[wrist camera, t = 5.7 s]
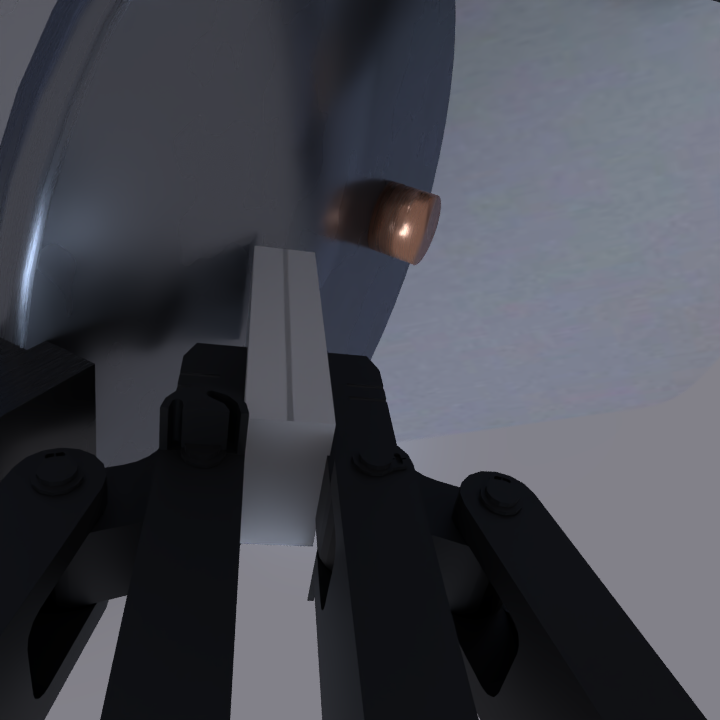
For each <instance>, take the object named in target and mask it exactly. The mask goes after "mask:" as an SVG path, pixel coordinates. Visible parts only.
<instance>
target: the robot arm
mask: <svg viewBox="0 0 720 720" xmlns="http://www.w3.org/2000/svg"><path fill="white" fill-rule="evenodd" d="M315 531H316V536H317V553H316V559H315V564H314V569H313V574H312V579H311V585H310V590H309V594H308V601H313V600H314V597H315V608H316V625H317V639H318V640H317V641H318V657H319V673H320V690H321V706H322V720H479V719H478V716H479V718H480V720H707V719H706V718H705V716H704V715H703V714H702V712H701V711H700V710H699V709H698V707H697V706H696V705H695V703H694V702H693V701H692V699H691V698H690V697H689V695H688V694H687V693H686V692H685V690H684V689H683V688H682V686H681V685H680V684H679V682H678V681H677V680H676V678H675V677H674V676H673V675H672V673H671V672H670V671H669V669H668V668H667V667H666V665H665V664H664V663H663V661H662V660H661V659H660V657H659V656H658V655H657V654H656V652H655V651H654V650H653V648H652V647H651V646H650V644H649V643H648V642H647V641H646V639H645V638H644V637H643V635H642V634H641V633H640V631H639V630H638V629H637V627H636V626H635V625H634V624H633V622H632V621H631V620H630V618H629V617H628V616H627V614H626V613H625V612H624V611H623V609H622V608H621V606H620V605H619V604H618V603H617V601H616V600H615V599H614V597H613V596H612V595H611V593H610V592H609V591H608V589H607V588H606V587H605V585H604V584H603V583H602V582H601V580H600V579H599V578H598V576H597V575H596V574H595V572H594V571H593V570H592V568H591V567H590V566H589V565H588V563H587V562H586V561H585V559H584V558H583V557H582V555H581V554H580V553H579V551H578V550H577V549H576V548H575V546H574V545H573V544H572V542H571V541H570V540H569V538H568V537H567V536H566V534H565V533H564V532H563V531H562V529H561V528H560V527H559V525H558V524H557V523H556V521H555V520H554V519H553V517H552V516H551V515H550V513H549V512H548V511H547V510H546V508H545V507H544V506H543V504H542V503H541V502H540V500H539V499H538V498H537V497H536V495H535V494H534V493H533V492H532V491H531V490H530V489H529V488H528V487H527V486H526V485H525V484H523V483H522V482H520V481H518V480H516V479H514V478H513V477H511V476H508V475H505V474H501V473H498V472H484V471H481V472H478V473H474V474H471V475H469V476H468V477H467V478H466V479H465V480H464V481H463V482H462V483H461V486H460V487H457V486H453V485H450V484H447V483H443V482H440V481H436V480H434V479H431V478H429V477H426V476H424V475H422V474H420V473H419V472H417V471H415V469H414V465H413V463H412V461H411V459H410V458H409V456H408V454H407V453H405V452H404V451H403V450H402V449H400V447H398V446H397V444H396V439H395V435H394V431H393V426H392V422H391V418H390V413H389V409H388V405H387V402H386V396H385V392H384V389H383V383H382V379H381V375H380V371H379V369H378V368H377V367H376V366H375V365H374V364H373V363H372V362H371V360H370V359H369V358H368V357H367V356H361V355H349V354H338V353H327V348H326V340H325V331H324V323H323V315H322V307H321V298H320V290H319V282H318V274H317V265H316V257H315V252H307V251H298V250H289V249H280V248H272V247H263V246H255V248H254V258H253V268H252V279H251V289H250V299H249V310H248V320H247V330H246V341H245V347H240V346H229V345H218V344H206V343H196V344H195V345H194V346H193V347H192V348H191V349H190V350H189V351H188V352H187V353H186V354H185V355H184V356H183V360H182V365H181V370H180V375H179V379H178V384H177V389H176V391H175V392H173V393H172V394H170V395H169V396H167V397H166V398H165V399H164V401H163V403H162V404H161V406H160V423H159V449H158V450H157V451H155V452H154V453H152V454H151V455H149V456H148V457H145V458H143V459H141V460H139V461H136V462H132V463H128V464H124V465H118V466H112V467H106V468H105V467H104V464H103V463H102V462H101V461H100V460H99V459H98V458H97V457H96V456H95V455H94V454H91V453H88V452H86V451H83V450H81V449H73V448H55V449H48V450H43V451H40V452H38V453H35V454H33V455H30V456H28V457H26V458H24V459H23V460H22V461H21V462H19V463H18V464H17V465H15V466H14V467H13V468H12V469H11V470H10V471H9V473H8V474H7V475H6V476H5V477H4V478H3V479H2V481H1V482H0V720H44V719H45V718H46V716H47V714H48V712H49V710H50V709H51V707H52V705H53V703H54V701H55V700H56V698H57V696H58V694H59V692H60V690H61V689H62V687H63V685H64V683H65V681H66V680H67V678H68V676H69V674H70V672H71V670H72V669H73V667H74V665H75V663H76V662H77V660H78V658H79V656H80V654H81V653H82V651H83V649H84V647H85V645H86V644H87V642H88V640H89V638H90V636H91V634H92V633H93V631H94V629H95V627H96V625H97V624H98V622H99V620H100V618H101V616H102V614H103V613H104V611H105V609H106V607H107V603H108V600H109V599H114V598H117V597H122V596H126V595H127V599H126V604H125V608H124V613H123V617H122V622H121V627H120V631H119V636H118V641H117V645H116V650H115V655H114V659H113V663H112V668H111V673H110V677H109V682H108V687H107V691H106V696H105V700H104V705H103V710H102V714H101V719H100V720H230V711H231V694H232V676H233V658H234V640H235V622H236V604H237V585H238V568H239V551H240V544H265V545H294V546H313V542H314V536H315ZM477 714H478V715H477Z"/></svg>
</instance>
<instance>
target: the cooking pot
mask: <svg viewBox="0 0 720 720" xmlns="http://www.w3.org/2000/svg"><path fill="white" fill-rule="evenodd" d="M57 1H58V0H0V144H1V141H2V138H3V135H4V131H5V128H6V125H7V122H8V118H9V115H10V112H11V109H12V106H13V102H14V99H15V96H16V93H17V90H18V87H19V85H20V82H21V80H22V78H23V76H24V73H25V71H26V69H27V67H28V64H29V62H30V60H31V57H32V55H33V53H34V51H35V48H36V46H37V44H38V41H39V39H40V37H41V35H42V32H43V30H44V28H45V25H46V23H47V21H48V19H49V16H50V14H51V12H52V9H53V8H54V6H55V4H56V2H57Z"/></svg>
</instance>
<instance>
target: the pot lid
mask: <svg viewBox="0 0 720 720" xmlns="http://www.w3.org/2000/svg"><path fill="white" fill-rule="evenodd" d="M454 42H455V0H58V1H57V2H56V4H55V6H54V8H53V9H52V12H51V14H50V16H49V19H48V21H47V23H46V25H45V28H44V30H43V32H42V35H41V37H40V39H39V41H38V44H37V46H36V48H35V51H34V53H33V55H32V57H31V60H30V62H29V64H28V67H27V69H26V71H25V73H24V76H23V78H22V80H21V82H20V85H19V87H18V90H17V93H16V96H15V99H14V102H13V106H12V109H11V112H10V115H9V118H8V122H7V125H6V128H5V131H4V135H3V138H2V141H1V144H0V482H1V481H2V479H3V478H4V477H5V476H6V475H7V474H8V473H9V471H10V470H11V469H12V468H13V467H14V466H15V465H17V464H18V463H19V462H21V461H22V460H23V459H24V458H26V457H28V456H30V455H33V454H35V453H38V452H40V451H43V450H48V449H55V448H73V449H81V450H83V451H86V452H88V453H91V454H94V455H95V456H96V457H97V458H98V459H99V460H100V461H101V462H102V463H103V464H104V467H105V468H106V467H112V466H118V465H124V464H128V463H132V462H136V461H139V460H141V459H143V458H145V457H148V456H149V455H151V454H152V453H154V452H155V451H157V450H158V449H159V423H160V406H161V404H162V403H163V401H164V399H165V398H166V397H167V396H169V395H170V394H172V393H173V392H175V391H176V389H177V384H178V379H179V375H180V370H181V365H182V360H183V356H184V355H185V354H186V353H187V352H188V351H189V350H190V349H191V348H192V347H193V346H194V345H195V344H196V343H206V344H218V345H229V346H240V347H245V341H246V330H247V320H248V310H249V299H250V289H251V279H252V268H253V258H254V248H255V246H263V247H272V248H280V249H289V250H298V251H307V252H315V257H316V265H317V274H318V282H319V290H320V298H321V307H322V315H323V323H324V331H325V340H326V348H327V353H338V354H349V355H361V356H367V357H368V358H369V359H370V360H371V358H372V356H373V354H374V351H375V349H376V347H377V345H378V343H379V341H380V338H381V336H382V334H383V331H384V329H385V327H386V324H387V322H388V320H389V317H390V315H391V312H392V310H393V308H394V305H395V302H396V300H397V297H398V294H399V292H400V289H401V287H402V284H403V281H404V279H405V276H406V273H407V270H408V267H409V264H413V265H416V264H418V263H419V262H420V261H421V260H422V258H423V257H424V255H425V254H426V252H427V250H428V248H429V246H430V244H431V241H432V239H433V236H434V234H435V231H436V228H437V224H438V220H439V216H440V210H441V199H440V197H439V196H438V195H435V194H432V193H431V190H432V186H433V182H434V177H435V173H436V169H437V164H438V160H439V155H440V150H441V145H442V140H443V134H444V129H445V124H446V117H447V110H448V103H449V96H450V89H451V80H452V69H453V59H454ZM240 545H241V544H240Z"/></svg>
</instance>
